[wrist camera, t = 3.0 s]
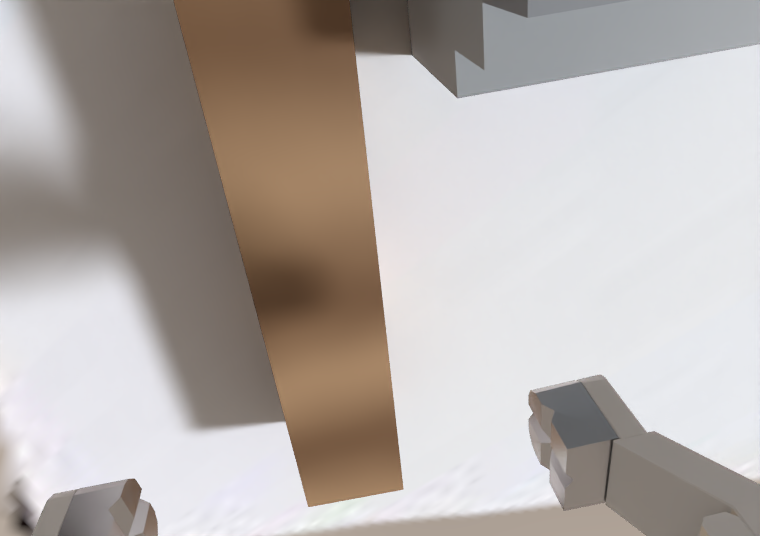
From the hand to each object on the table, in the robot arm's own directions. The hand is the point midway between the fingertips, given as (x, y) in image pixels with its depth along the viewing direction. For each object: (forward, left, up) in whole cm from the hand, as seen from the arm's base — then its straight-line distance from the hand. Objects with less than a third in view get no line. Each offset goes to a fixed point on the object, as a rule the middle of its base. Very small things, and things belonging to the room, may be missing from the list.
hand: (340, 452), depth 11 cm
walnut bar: (-1, 0, -9) cm, 9 cm away
